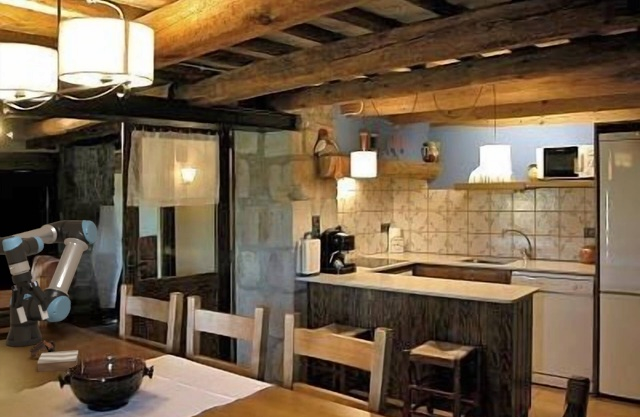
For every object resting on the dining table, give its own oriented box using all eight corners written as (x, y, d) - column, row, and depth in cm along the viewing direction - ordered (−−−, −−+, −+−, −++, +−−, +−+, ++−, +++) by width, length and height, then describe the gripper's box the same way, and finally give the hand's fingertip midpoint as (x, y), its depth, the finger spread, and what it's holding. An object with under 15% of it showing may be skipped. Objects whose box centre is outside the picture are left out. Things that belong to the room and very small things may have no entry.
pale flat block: (42, 362, 251) (42, 352, 251) (78, 359, 255) (78, 350, 255) (37, 372, 237) (37, 361, 237) (76, 368, 242) (76, 358, 242)
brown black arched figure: (52, 361, 254) (40, 346, 252) (34, 370, 255) (22, 355, 253) (65, 347, 265) (54, 332, 263) (48, 356, 267) (37, 340, 265)
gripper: (-6, 279, 260) (7, 326, 262) (33, 271, 249) (47, 320, 251) (9, 274, 267) (22, 320, 269) (48, 266, 256) (61, 314, 258)
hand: (34, 320), depth 260 cm, fingers open, 13 cm apart
